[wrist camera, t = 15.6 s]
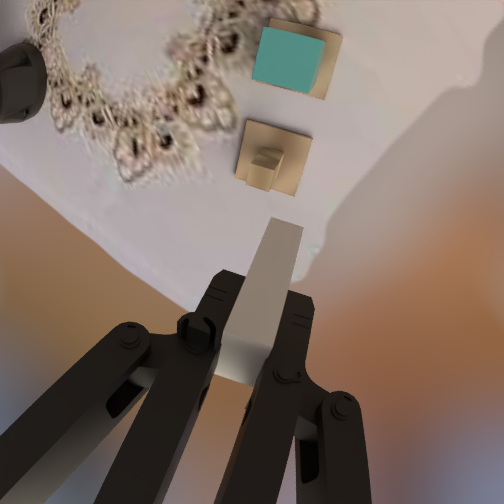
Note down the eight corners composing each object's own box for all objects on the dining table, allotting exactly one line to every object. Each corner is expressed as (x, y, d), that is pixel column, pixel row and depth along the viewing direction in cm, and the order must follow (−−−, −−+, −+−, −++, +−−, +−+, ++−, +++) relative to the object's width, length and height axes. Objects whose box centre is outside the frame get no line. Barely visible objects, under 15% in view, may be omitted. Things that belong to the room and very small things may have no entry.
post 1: (256, 80, 33) (240, 87, 28) (271, 18, 28) (257, 11, 23) (324, 99, 32) (320, 109, 27) (342, 36, 27) (343, 32, 22)
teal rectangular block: (269, 73, 32) (251, 79, 26) (280, 31, 28) (263, 26, 22) (314, 85, 31) (308, 94, 25) (326, 43, 28) (322, 40, 22)
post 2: (236, 176, 41) (218, 198, 36) (248, 119, 36) (230, 133, 31) (294, 194, 41) (286, 220, 35) (312, 138, 36) (306, 155, 30)
